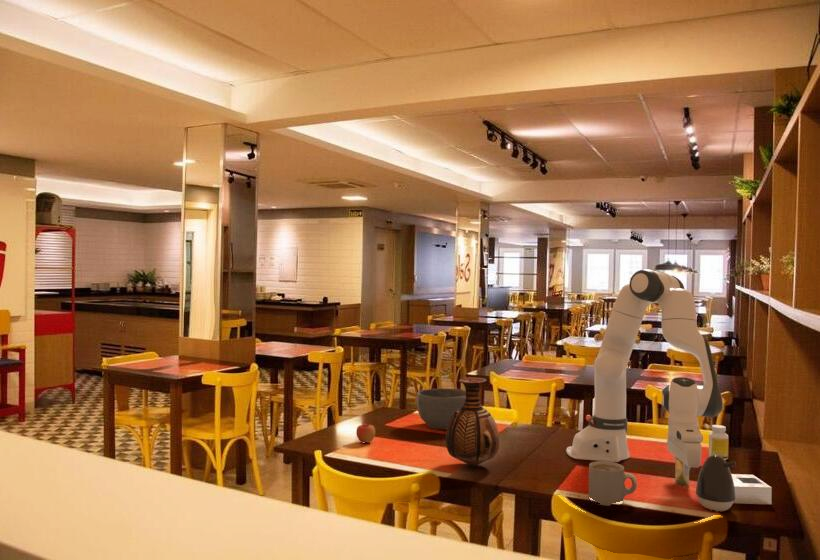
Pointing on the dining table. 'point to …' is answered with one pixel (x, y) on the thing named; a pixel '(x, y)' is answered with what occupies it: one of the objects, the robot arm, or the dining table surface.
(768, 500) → the jig block
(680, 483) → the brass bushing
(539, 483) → the dining table surface
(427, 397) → the bowl
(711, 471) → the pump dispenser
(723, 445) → the pill bottle
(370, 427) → the apple
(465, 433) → the vase
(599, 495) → the coffee mug
